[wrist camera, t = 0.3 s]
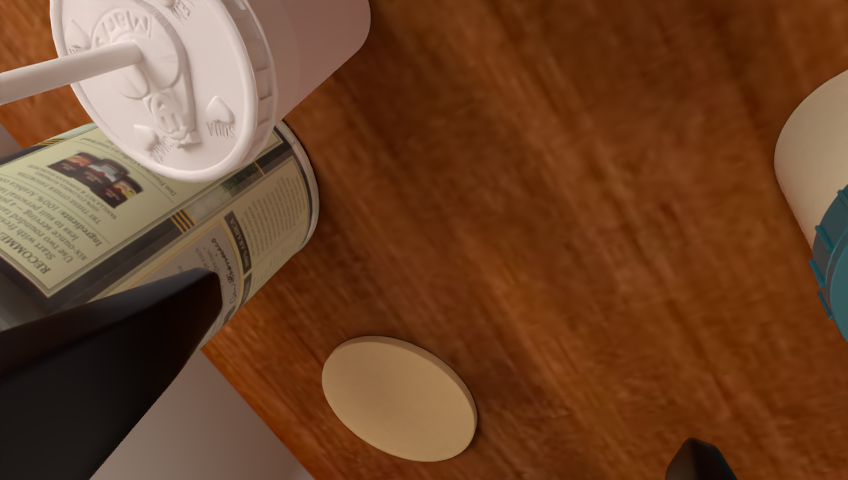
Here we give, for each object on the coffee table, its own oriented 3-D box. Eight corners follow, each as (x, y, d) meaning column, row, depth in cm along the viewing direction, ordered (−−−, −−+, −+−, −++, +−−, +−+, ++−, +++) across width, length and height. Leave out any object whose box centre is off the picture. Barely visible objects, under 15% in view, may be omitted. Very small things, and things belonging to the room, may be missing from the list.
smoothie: (364, -112, 18) (-66, -144, 7) (425, 67, 21) (179, 250, 10) (233, -42, 21) (-217, 13, 10) (301, 108, 24) (3, 284, 13)
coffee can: (180, 244, 32) (-75, 428, 20) (128, 70, 26) (-260, 192, 15) (332, 277, 29) (133, 514, 17) (310, 90, 23) (-2, 260, 12)
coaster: (487, 465, 33) (485, 473, 32) (348, 441, 36) (344, 448, 36) (463, 342, 28) (460, 350, 27) (306, 329, 32) (301, 335, 31)
